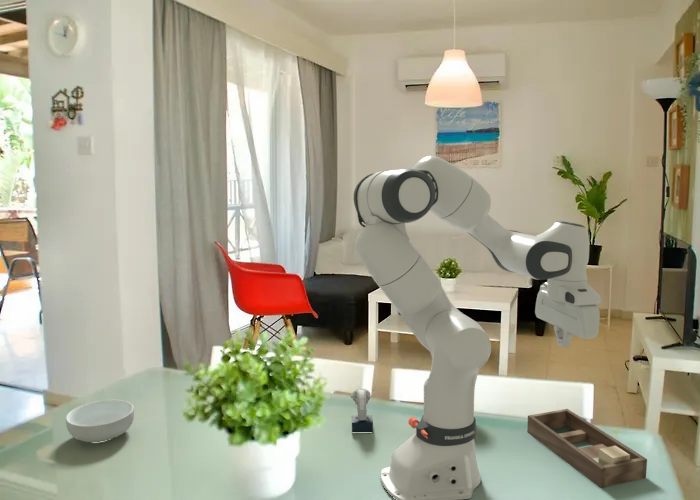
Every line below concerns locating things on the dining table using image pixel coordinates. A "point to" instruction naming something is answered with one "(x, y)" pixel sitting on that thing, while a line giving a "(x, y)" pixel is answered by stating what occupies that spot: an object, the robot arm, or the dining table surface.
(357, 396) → the grey joystick on base
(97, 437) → the cereal bowl
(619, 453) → the block
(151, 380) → the dining table surface
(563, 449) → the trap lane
